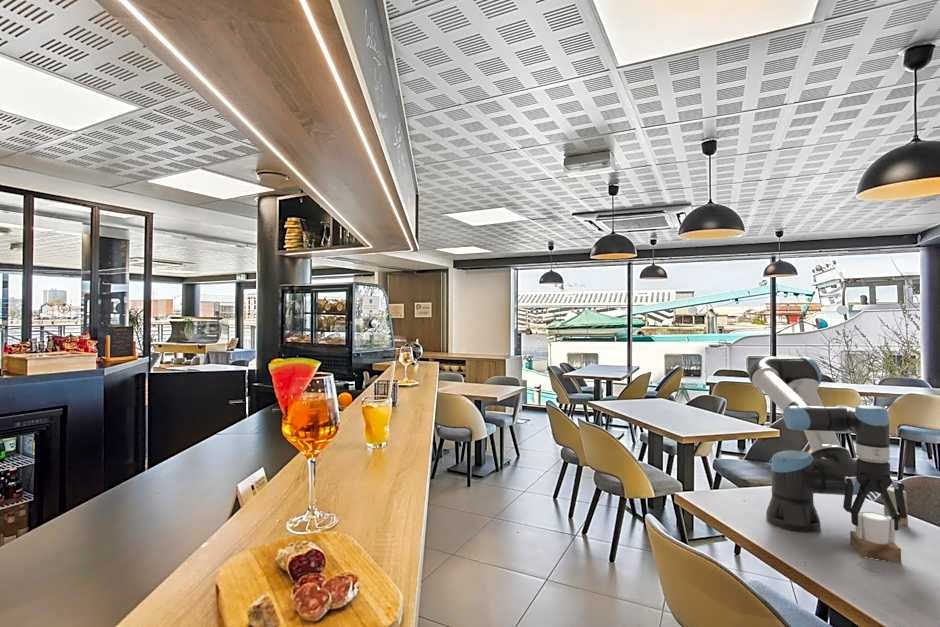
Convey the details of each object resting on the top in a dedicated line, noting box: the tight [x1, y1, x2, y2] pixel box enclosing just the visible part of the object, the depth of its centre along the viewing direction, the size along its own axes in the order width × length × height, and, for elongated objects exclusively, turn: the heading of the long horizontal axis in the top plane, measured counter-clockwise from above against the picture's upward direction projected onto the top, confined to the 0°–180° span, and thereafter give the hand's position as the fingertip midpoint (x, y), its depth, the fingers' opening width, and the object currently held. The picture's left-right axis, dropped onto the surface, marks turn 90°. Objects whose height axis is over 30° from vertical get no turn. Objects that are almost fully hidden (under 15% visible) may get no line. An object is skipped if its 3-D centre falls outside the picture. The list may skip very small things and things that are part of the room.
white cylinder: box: [859, 511, 890, 544], centre depth 140 cm, size 7×7×7 cm
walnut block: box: [849, 530, 902, 564], centre depth 140 cm, size 9×9×4 cm
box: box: [883, 486, 909, 527], centre depth 161 cm, size 5×4×11 cm
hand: (874, 538), depth 140 cm, fingers closed on white cylinder, 7 cm apart
